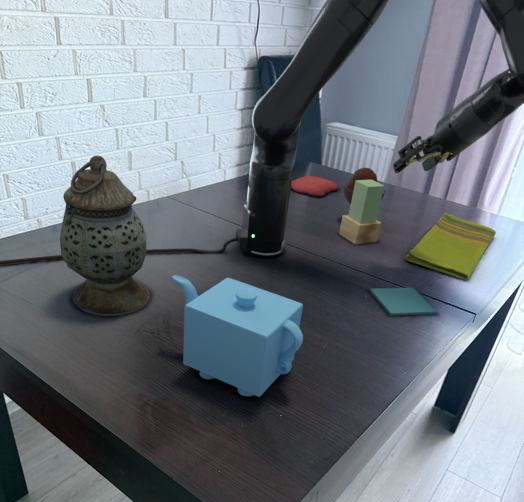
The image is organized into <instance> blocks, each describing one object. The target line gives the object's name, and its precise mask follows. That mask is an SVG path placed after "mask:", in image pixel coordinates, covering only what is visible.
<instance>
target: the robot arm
mask: <svg viewBox="0 0 524 502" xmlns="http://www.w3.org/2000/svg"><path fill="white" fill-rule="evenodd" d="M389 2H390V0H326V1H325V2H324V3H323V5H322V6H321V8H320V9H319V12H318V13H317V15H316V16H315V17H314V19H313V21H312V22H311V25H310V27H309V28H308V30H307V32H306V34H305V35H304V37H303V39H302V41H301V42H300V45H299V47H298V49H297V50H296V52H295V54H294V56H293V57H292V59H291V61H290V62H289V64H288V65H287V67H286V68H285V69H284V71H283V72H282V73H281V75H280V76H279V77H278V78H277V79H276V81H275V82H274V83H273V84H272V85H271V86H270V88H269V89H268V90H267V91H266V92H265V93H264V95H262V96H261V97H260V98H259V99H258V100H257V102H256V103H255V105H254V108H253V111H252V115H251V123H252V127H253V131H254V137H253V146H252V150H251V156H250V161H249V170H248V171H249V172H248V173H249V174H248V185H247V196H246V203H244V204H243V211H242V212H243V214H242V225H241V229H235V237H233V238H230V239H228V240H226V241H225V242H224V243H223V245H222V247H221V248H220V249H217V250H205V249H199V248H191V247H190V248H187V247H186V248H154V249H146V254H156V253H159V254H160V253H189V252H191V253H198V254H222V252H224V251H226V250H227V247H228V245H229V244H231V243H234V242H236V244H237V246H238V248H242V250H243V251H244V253H245V255H250V256H251V255H252V256H255V257H261V258H272V257H273V258H274V257H277V256H280V255H281V254H283V251H284V246H285V244H286V238H285V236H286V235H285V234H286V227H287V220H288V211H289V203H290V197H291V190H292V189H291V183H292V181H293V174H294V169H295V162H296V158H297V151H298V150H297V149H298V142H299V135H300V130H301V123H302V122H301V121H302V119H303V118H304V116H305V115H306V114H307V112H308V111H309V109H310V108H311V105H312V104H313V102H314V100H315V99H316V98H317V96H318V95H319V93H320V92H321V90H322V89H323V88H324V87H325V85H326V84H327V83H328V82H329V81H330V80H331V79H332V78H333V77H334V75H336V73H338V72H339V70H341V68H342V67H343V66H344V65H345V64H346V62H347V61H348V60H349V59H350V58H351V56H353V54H354V53H355V52H356V50H357V49H358V48H359V47H360V45H362V43H363V42H364V40H365V39H366V38H367V36H368V35H369V34H370V32H371V31H372V30H373V28H374V27H375V26H376V24H377V23H378V21H379V20H380V19H381V16H382V15H383V13H384V12H385V9H386V8H387V6H388V4H389ZM477 2H478V3H479V5H480V7H481V9H482V10H483V12H484V14H485V15H486V17H487V19H488V20H489V22H490V23H491V26H492V27H493V29H494V31H495V32H496V33H497V35H498V36H499V40H500V43H501V48H502V51H503V55H504V59H505V61H506V65H507V67H508V68H507V69H506V70H504V71H502V72H500V73H498V74H496V75H494V76H493V77H492V78H490V79H489V80H488V81H486V83H484V84H483V85H481V87H479V88H478V89H477V90H476V91H474V92H473V93H472V94H470V95H468V96H467V97H466V98H464V99H462V101H461V102H460V103H458V104H456V106H455V107H454V108H452V109H451V110H450V111H449V112H448V113H446V114H444V116H443V117H441V118H440V119H439V120H438V121H437V122H436V125H435V128H434V131H433V134H431V135H428V136H427V137H426V138H425V139H423V137H422V136H421V135H418V136H416V137H414V138H413V139H412V140H411V141H410V142H408V143H407V144H406V145H405V146H403V147H402V148H401V149H400V150H398V151H397V155H398V156H399V158H398V159H397V160H396V161H394V162H393V164H392V169H393V171H394V173H395V174H399V173H401V172H402V171H403V170H405V169H406V168H407V167H409V166H410V165H411V164H413V163H415V162H419V163H421V165H422V168H423V171H424V172H428V171H430V170H431V169H433V168H434V167H435V166H437V165H438V164H442V163H444V162H445V160H446V162H450V161H452V160H453V159H455V158H456V157H458V155H460V154H461V153H463V152H464V151H465V150H467V149H468V148H469V147H471V146H472V145H473V144H475V143H476V142H477V141H479V140H480V139H482V138H483V137H484V136H486V135H487V134H488V133H489V132H490V131H492V129H493V128H495V126H497V125H498V124H499V123H501V122H502V121H504V120H505V119H506V118H508V117H510V116H511V115H512V114H513V113H514V112H515V111H516V110H518V109H519V108H520V107H521V106H523V105H524V0H477ZM421 153H422V155H421ZM50 260H63V257H62V255H61V254H57V255H46V256H35V257H25V258H17V259H16V258H13V259H5V260H0V266H1V265H9V264H10V265H11V264H20V263H29V262H41V261H50Z"/></svg>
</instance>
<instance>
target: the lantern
mask: <svg viewBox="0 0 524 502" xmlns="http://www.w3.org/2000/svg"><path fill="white" fill-rule="evenodd" d="M107 165H108V164H107V161H106V160H105V158H104V157H103V156H101V155H93V156H91V158H90V159H89V162H86V163H85V164H84V165H83V166H81V167H80V168H79V169H77V170H76V171H75V173H74V174H73V176H72V178H71V180H70V186H69V187H68V188H67V189H66V190H65V191H64V193H63V195H62V197H63V200H64V203H65V208H64V213H63V218H62V223H61V228H60V236H59V245H60V255H62V257H63V258H62V260H63V261H64V262H65V264H66V265H67V267H68V269H70V270H72V272H74V273H76V274H78V275H79V276H81V277H82V278H83V279H84V282H82V283H81V284H80V285H78V287H76V288H75V289H74V291H73V293H72V299H73V304H74V305H76V307H77V308H79V309H80V310H82V311H84V312H85V313H87V314H91V315H96V316H103V317H104V316H105V317H113V316H114V317H115V316H124V315H127V314H128V315H129V314H131V313H135V312H136V311H139V310H141V309H143V308H144V306H147V304H148V303H149V300H150V298H151V297H150V296H151V295H150V292H149V289H148V288H147V286H145V285H144V284H143V283H141V282H140V281H138V280H137V279H135V278H134V277H133V276H134V275H135V274H137V273H138V272H139V270H141V269H142V268H143V265H144V262H145V259H146V256H147V253H146V250H147V234H146V231H145V228H144V224H143V223H142V220H141V218H140V216H139V215H138V214H137V213H136V211H135V210H134V208H133V204H134V203H135V202H137V196H135V195H134V193H133V192H132V191H131V190H130V189H129V188H128V187H127V186H126V185H125V184H124V183H123V182H122V179H120V177H119V176H118V175H117V174H116V173H115V172H113V171H110V170H108V169H107ZM88 168H89V169H88Z"/></svg>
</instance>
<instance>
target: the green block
mask: <svg viewBox="0 0 524 502" xmlns="http://www.w3.org/2000/svg"><path fill="white" fill-rule="evenodd" d="M383 190H384V191H385V185H384V184H382V183H380V182H379V181H378V182H376V181H374V180H356V181H355V186H354V191H353V196H352V201H351V204H350V206H349V211H348V214H347V215H348V216H349V217H350V218H352V219H354V220H355V221H357V222H359V223H369V222H376V220H378V215H379V210H380V207H381V203H382V200H381V198H382V194H383ZM382 199H383V198H382Z"/></svg>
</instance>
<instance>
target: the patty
mask: <svg viewBox="0 0 524 502" xmlns="http://www.w3.org/2000/svg"><path fill="white" fill-rule="evenodd" d="M339 188H340V187H339V184H337V183H336V182H334V181H333V180H329V179H325V178H323V177H319V176H317V175H305V176H301V177H298V178H296V179H294V180H292V183H291V190H293V191H294V192H296V193H298V194H301V195H306V196H307V195H308V196H311V197H315V198H322V197H325V196H326V195H328V194H329V193H330V192H336V191H338V190H339Z"/></svg>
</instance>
